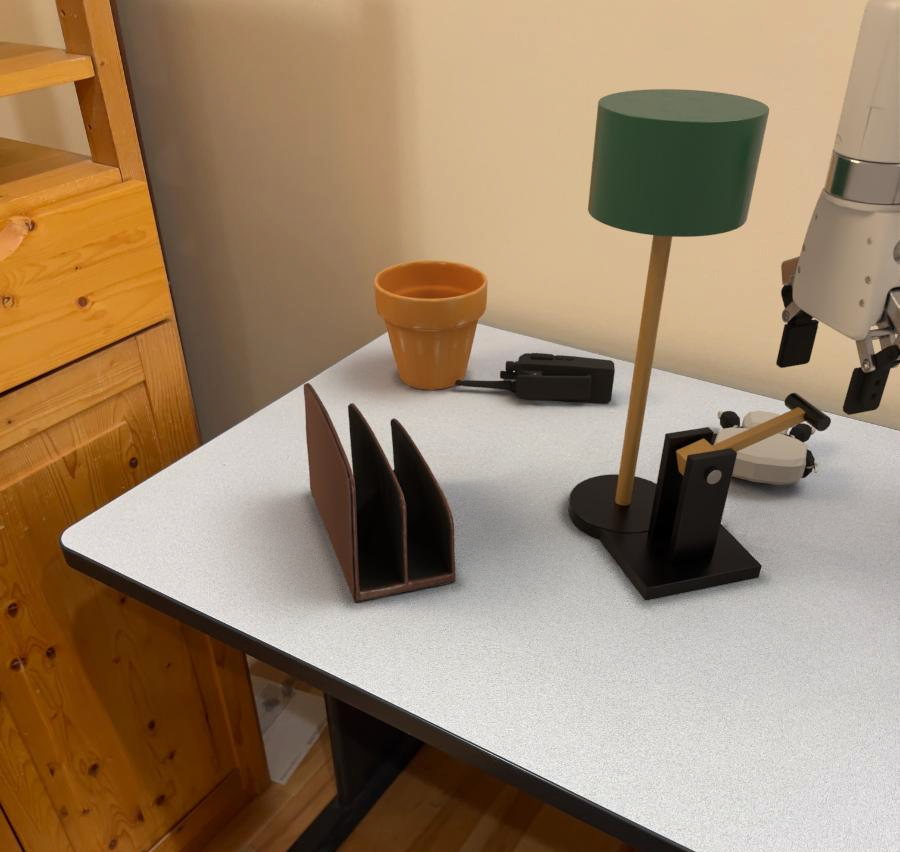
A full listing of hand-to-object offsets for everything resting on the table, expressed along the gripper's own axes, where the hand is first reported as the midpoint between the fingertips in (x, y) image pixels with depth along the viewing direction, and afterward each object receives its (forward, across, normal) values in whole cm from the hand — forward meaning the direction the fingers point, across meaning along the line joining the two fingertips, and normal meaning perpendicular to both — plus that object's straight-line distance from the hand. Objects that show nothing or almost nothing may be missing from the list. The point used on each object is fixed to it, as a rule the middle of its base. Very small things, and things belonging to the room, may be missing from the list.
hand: (824, 386), depth 78 cm
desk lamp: (+16, +9, +14) cm, 23 cm away
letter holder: (+16, +13, +39) cm, 44 cm away
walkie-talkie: (+14, +35, +13) cm, 40 cm away
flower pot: (+16, +47, +23) cm, 55 cm away
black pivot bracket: (+16, 0, +12) cm, 20 cm away
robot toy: (+17, +14, -6) cm, 23 cm away
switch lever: (+5, 0, +6) cm, 8 cm away
